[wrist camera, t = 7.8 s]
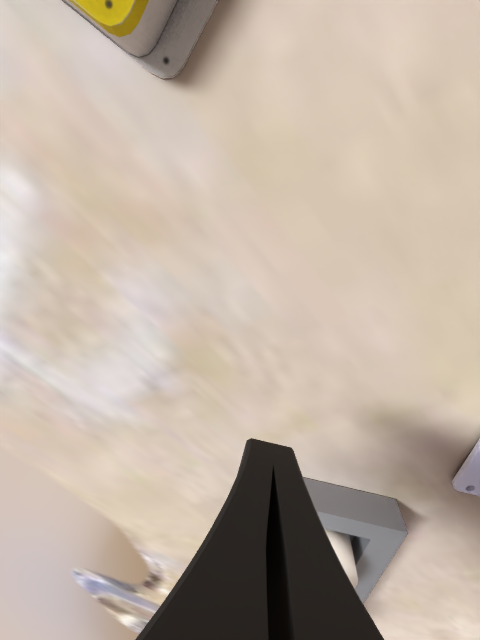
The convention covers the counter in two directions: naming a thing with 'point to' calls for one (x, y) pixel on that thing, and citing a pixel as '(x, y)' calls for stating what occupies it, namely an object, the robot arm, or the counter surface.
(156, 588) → the counter surface
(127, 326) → the counter surface
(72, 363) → the counter surface
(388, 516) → the grey slotted tray
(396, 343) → the counter surface
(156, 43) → the emergency button
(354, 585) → the button cream
